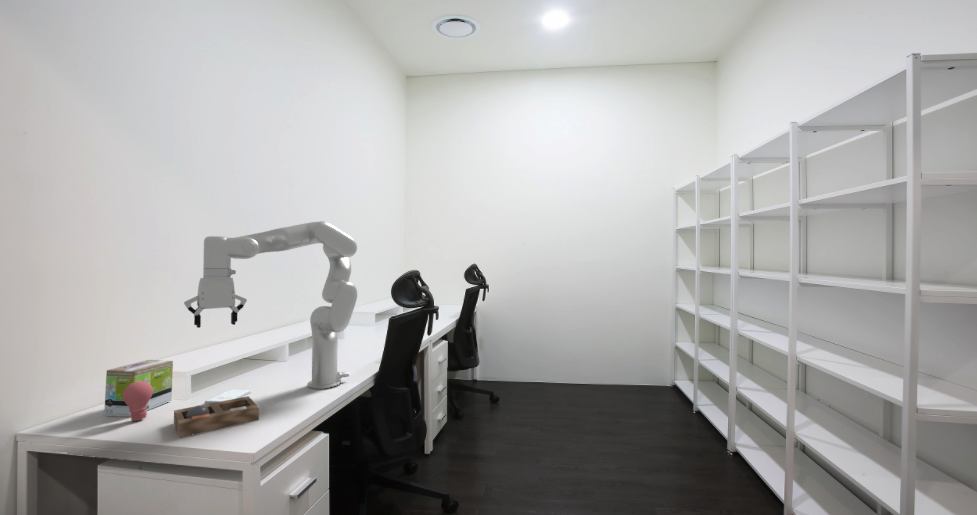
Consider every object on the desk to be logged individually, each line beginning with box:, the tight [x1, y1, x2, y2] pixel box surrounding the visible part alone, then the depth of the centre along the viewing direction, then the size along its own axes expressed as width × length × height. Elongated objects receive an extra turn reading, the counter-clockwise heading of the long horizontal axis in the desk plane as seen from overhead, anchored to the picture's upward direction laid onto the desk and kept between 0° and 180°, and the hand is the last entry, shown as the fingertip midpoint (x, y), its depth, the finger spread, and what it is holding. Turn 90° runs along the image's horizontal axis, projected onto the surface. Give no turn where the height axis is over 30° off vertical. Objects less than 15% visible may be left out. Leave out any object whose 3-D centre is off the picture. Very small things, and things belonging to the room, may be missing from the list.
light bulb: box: [123, 381, 153, 421], centre depth 126 cm, size 7×7×12 cm
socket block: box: [173, 395, 260, 438], centre depth 126 cm, size 20×14×4 cm
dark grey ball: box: [186, 404, 210, 419], centre depth 122 cm, size 6×6×6 cm
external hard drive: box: [204, 389, 252, 405], centre depth 147 cm, size 2×8×12 cm
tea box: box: [103, 359, 174, 418], centre depth 136 cm, size 15×10×15 cm
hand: (216, 325), depth 134 cm, fingers open, 9 cm apart
